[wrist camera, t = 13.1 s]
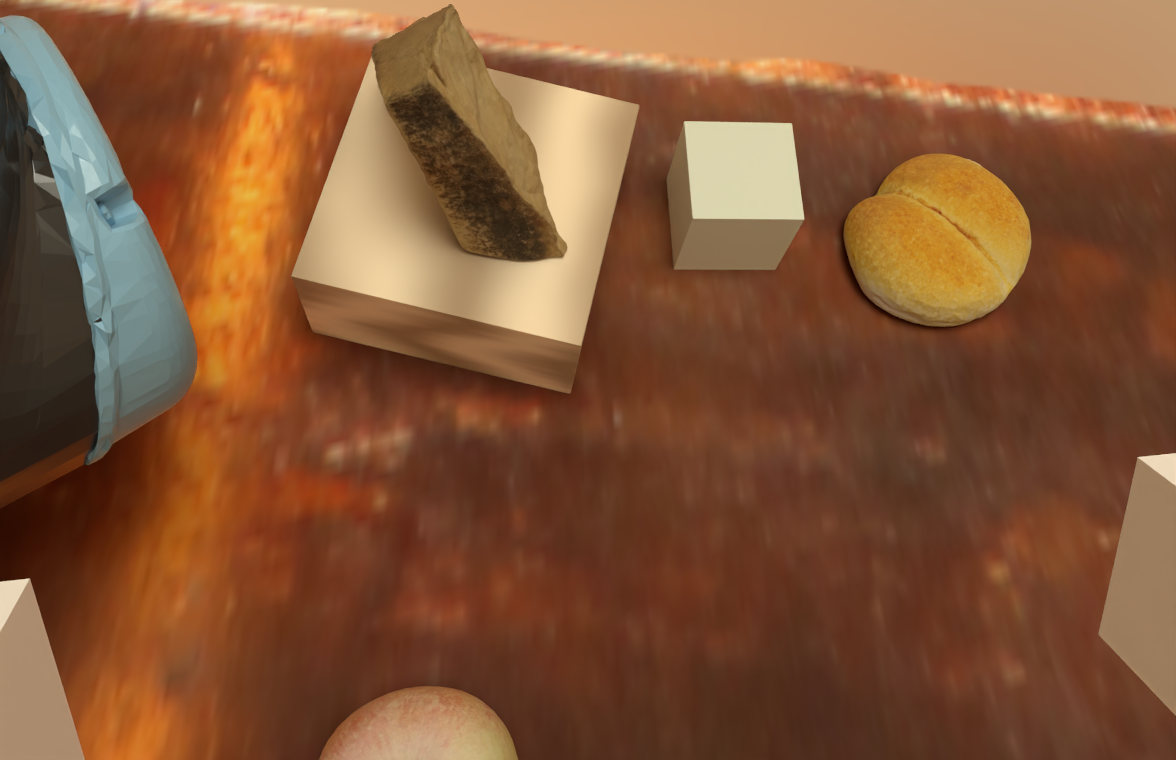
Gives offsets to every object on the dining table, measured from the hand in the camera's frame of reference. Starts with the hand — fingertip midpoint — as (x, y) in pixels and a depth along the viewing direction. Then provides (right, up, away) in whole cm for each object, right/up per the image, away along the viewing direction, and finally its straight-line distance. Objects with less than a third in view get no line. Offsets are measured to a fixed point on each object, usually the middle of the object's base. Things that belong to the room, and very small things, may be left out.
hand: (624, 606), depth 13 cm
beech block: (-6, +9, +37) cm, 39 cm away
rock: (-5, +12, +32) cm, 35 cm away
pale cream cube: (+6, +10, +39) cm, 40 cm away
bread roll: (+17, +9, +40) cm, 44 cm away
